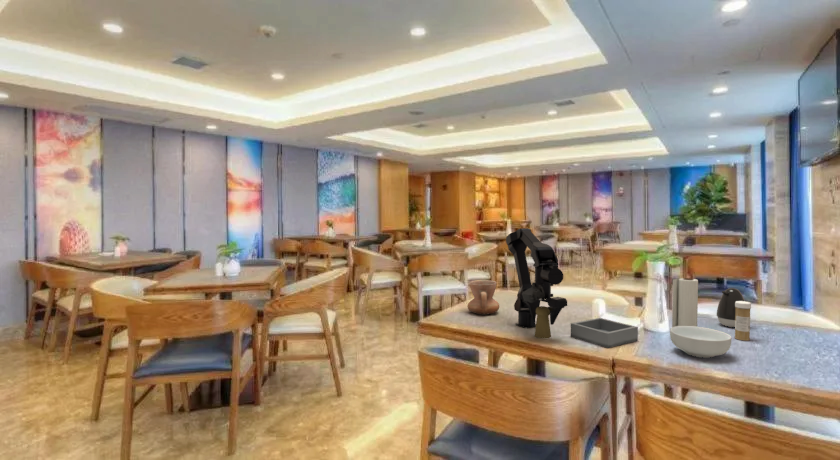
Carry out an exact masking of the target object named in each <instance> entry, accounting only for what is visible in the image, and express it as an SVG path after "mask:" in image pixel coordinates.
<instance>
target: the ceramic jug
mask: <svg viewBox="0 0 840 460" xmlns="http://www.w3.org/2000/svg"><path fill="white" fill-rule="evenodd" d="M469 288H470V290H471V293H472V296H473V298H472V299H471V300H470V301H469V302H467V309H468V310H469V311H470V312H471V313H474V314H477V315H492V314H495V313H497V312H498V311H499V310H500V304H499V302H498V301H497V300H496V299H494V295H495V292H496V288H497V281H494V280H490V279H488V280H487V279H485V280H484V279H478V280H476V279H475V280H472V281H469Z"/></svg>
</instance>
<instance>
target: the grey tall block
mask: <svg viewBox="0 0 840 460" xmlns="http://www.w3.org/2000/svg"><path fill="white" fill-rule="evenodd" d="M698 291H699V280H698V279H696V278H691V277H690V278H686V277H684V278H682V277H681V278H672V305H671V306H672V307H671V308H672V315H671V317H672V318H671V319H672V320H671V321H672V322H671V325H672V326H671V328H673V327H676V326H695V327H698V313H699V312H698V310H699V309H698V305H699V304H698V303H699V302H698V301H699V300H698V299H699V298H698V297H699V295H698V294H699V292H698Z"/></svg>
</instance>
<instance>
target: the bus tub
mask: <svg viewBox="0 0 840 460" xmlns="http://www.w3.org/2000/svg"><path fill="white" fill-rule="evenodd" d="M638 328H639V327H638V326H635V325H632V324H628V323H627V324H626V323H624V322H620V321H616V320H610V319H608V318H607V319H606V318H602V317H597V318H592V319H586V320H581V321H576V322H571V323H570V337H571V338H574V339H577V340H580V341H584V342H587V343H590V344H593V345H596V346H599V347H603V348H606V349H611V348H615V347H618V346H622V345H626V344H630V343H634V342H638V340H639V329H638Z"/></svg>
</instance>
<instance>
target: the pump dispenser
mask: <svg viewBox="0 0 840 460" xmlns="http://www.w3.org/2000/svg"><path fill="white" fill-rule="evenodd" d="M721 293H722V294H721V296H720V298H719V299H720V300H719V301H718V305H717V308H716V317H717V320H718V321H719V323H720V324H721V325H723V326H724V325H725V327H727V326H729V327H728V328H732V327H735V313H736V308H735V302H736V301H745V298H744V296H743V294H742V293H741V291H740V290H739V289H737V288H736V287H735V288H734V287H729V288H727V289H725V290H722V291H721Z"/></svg>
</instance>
